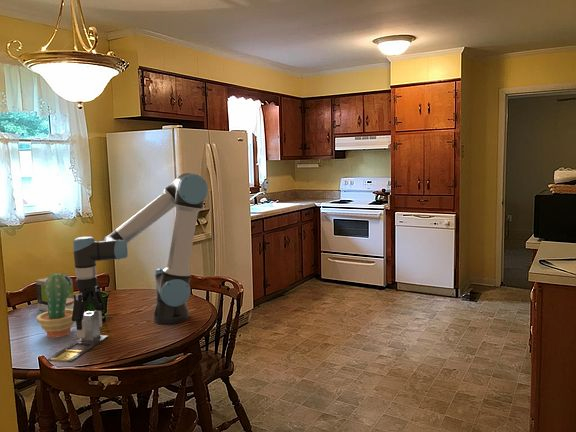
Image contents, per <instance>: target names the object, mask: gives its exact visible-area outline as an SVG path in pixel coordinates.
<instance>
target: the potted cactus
mask: <svg viewBox="0 0 576 432" xmlns="http://www.w3.org/2000/svg"><path fill="white" fill-rule="evenodd" d="M47 278H48V279H47V280H46V282H45V292H46V296H47V299H48V312H46V311H43V312H42V313H40V314H37V316H36V318H35V319H36V322H37V323H39V324H40V326H41V328H42V329H43V331H44V332H45V333H46V337H48V338H59V337H60V338H61V337H64V336H67V335H69V334H71V332H72V330H71V328H72V327H73V325H74V322H75V321H72V314H73V309H65V306H66V300H67V297H68V294H69V285H70V288H71V286H72V284H71V283H72V281H71V279H72V278H71V277H70V276H69V275H68V274H62V272H59V273H57V272H54V273H50V274H49V276H48V277H47Z"/></svg>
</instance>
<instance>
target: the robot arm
mask: <svg viewBox="0 0 576 432" xmlns="http://www.w3.org/2000/svg"><path fill="white" fill-rule="evenodd" d="M208 193H209V186H208V183H207V181H206V180H205V179H204V178H203V177H202V176H201V175H199V174H196V173H189V172H188V173H183V174H180V175H178V177H176V178H175V179H174V180H173V181H172V182H170V183H169V185H168V186H166V187H165V188H164V189H163V192H162V193H161V194H160V195H159V196H157V197H156V198H155V199H154V200H152V201H151V202H150V203H148V204H147V205H145V207H142V209H140V210H139V211H138V212H137V213H136V214H134V215H133V216H131V217H130V218H129V219H128V220H126V221H125V222H124V223H122V224H121V225H119V227H117V228H116V229H115V230H114V231H112V232H111V233H109V234H107V235H105V236H104V237H103V238H102V240H101V241H95V238H94V237H93V236H80V237H79V236H78V237H76V238H74V239H73V241H72V243H73V244H72V247H73V260H74V271H75V277H76V279H75V285H76V288H77V289H78V292H79V293H78V294H75V293H74V306H73V314H72V321H74V322H75V323H76V324H75V325H76V332H77V333H76V334H77V338H78V339H80V338H85V327H84V320H83V316H84V313H85V312H86V309H87V305H88V304H89V302H90V303H91V304H92V306H93V308H94V309H95V310H94V311H96V312H99V325H100V328H102V327H103V314H102V311H104V310H105V301H104V298H103V295H102V293H101V286H100V285H98V277H97V273H98V272H97V265H96V264H97V263H96V262H100V261H101V262H102V261H112V260H121V259H126V258H128V255H129V253H128V244H129V243H131V241H132V240H134V239H135V238H137V237H138V236H139V235H140V234H141V233H143V232H144V231H145V230H147V229H148V228H149V227H150V226H152V225H153V224H155V222H157V221H158V220H160V219H161V218H162V217H163V216H165V215H166V214H167V213H169V212H170V211H172V210H173V209H174V208H176V212H175V219H174V223H173V231H172V235H171V236H172V237H171V242H170V247H169V248H170V249H169V253H168V254H169V255H168V261H167V266H165V267H158V268H156V269H155V273H154V277H155V292H156V294H155V296H156V305H155V308H154V312H153V322H154V323H156V324H160V325H161V324H162V325H172V324H177V323H178V324H179V323H182V322H185V321H186V320H189V317H190V313H189V310H188V306H187V304H186V302H188V300H189V298H190V297H191V296H190V295H191V287H190V283H191V277H192V273H191V271H190V270H189V267H190V262H191V261H190V260H191V255H192V249H193V243H194V237H195V232H196V225H197V220H198V215H199V212H200V211H203V208H204V202H205V199H206V198H207V196H208Z"/></svg>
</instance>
